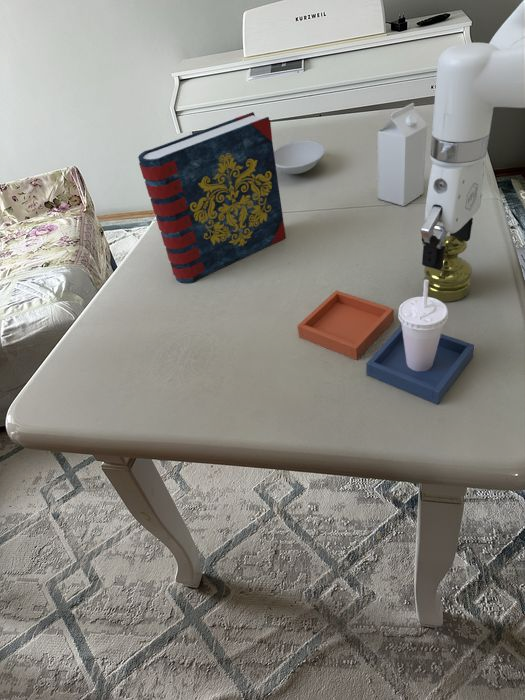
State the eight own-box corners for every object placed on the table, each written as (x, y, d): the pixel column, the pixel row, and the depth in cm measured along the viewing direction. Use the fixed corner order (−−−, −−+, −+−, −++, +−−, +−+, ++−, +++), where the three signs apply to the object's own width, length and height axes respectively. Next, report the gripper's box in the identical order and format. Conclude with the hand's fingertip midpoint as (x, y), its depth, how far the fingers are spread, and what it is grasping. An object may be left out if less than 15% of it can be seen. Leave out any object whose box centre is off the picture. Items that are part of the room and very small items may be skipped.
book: (183, 288, 101) (146, 164, 85) (168, 274, 106) (130, 154, 90) (287, 238, 110) (271, 117, 94) (269, 228, 114) (251, 110, 98)
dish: (323, 184, 127) (322, 164, 124) (266, 188, 130) (263, 169, 127) (328, 156, 140) (327, 137, 137) (276, 160, 143) (274, 142, 140)
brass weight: (426, 276, 92) (429, 225, 86) (471, 279, 89) (478, 227, 83) (419, 300, 87) (422, 248, 81) (466, 305, 85) (473, 251, 78)
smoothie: (449, 355, 76) (458, 275, 67) (433, 383, 72) (440, 302, 63) (407, 343, 79) (410, 265, 70) (389, 370, 75) (390, 291, 66)
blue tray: (472, 357, 76) (474, 344, 74) (437, 404, 70) (439, 392, 68) (403, 332, 82) (404, 321, 80) (366, 375, 76) (366, 363, 75)
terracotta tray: (393, 320, 84) (393, 308, 83) (356, 360, 79) (356, 348, 77) (336, 301, 91) (336, 290, 89) (298, 336, 85) (297, 325, 83)
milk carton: (377, 199, 117) (377, 111, 105) (397, 187, 120) (399, 100, 108) (403, 207, 112) (406, 116, 100) (423, 194, 116) (428, 104, 103)
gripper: (457, 174, 66) (444, 285, 77) (510, 128, 75) (491, 233, 86) (403, 165, 70) (398, 272, 81) (459, 122, 79) (448, 224, 90)
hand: (446, 252), depth 84 cm, fingers open, 9 cm apart
